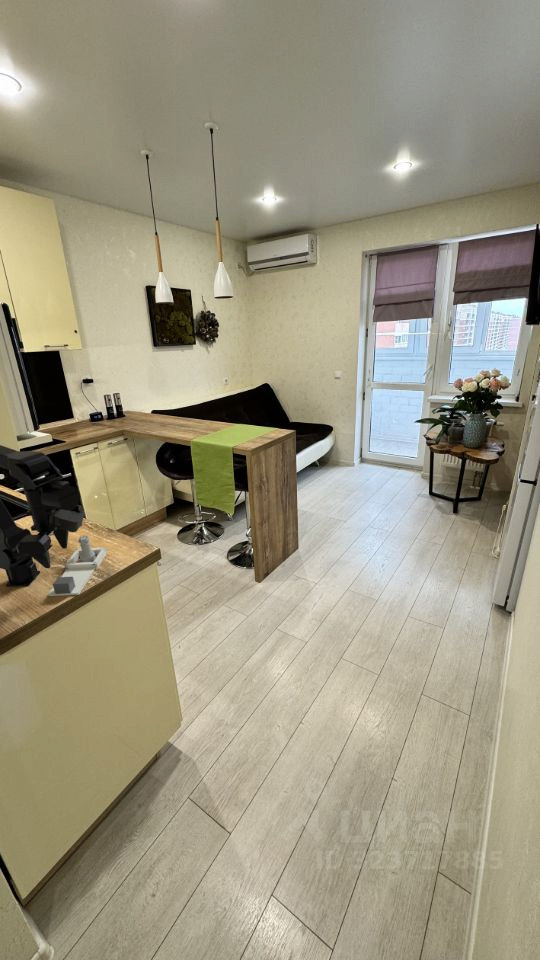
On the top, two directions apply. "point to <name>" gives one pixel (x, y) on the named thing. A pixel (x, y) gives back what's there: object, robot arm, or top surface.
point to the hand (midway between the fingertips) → (56, 557)
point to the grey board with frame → (76, 574)
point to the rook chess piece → (86, 550)
